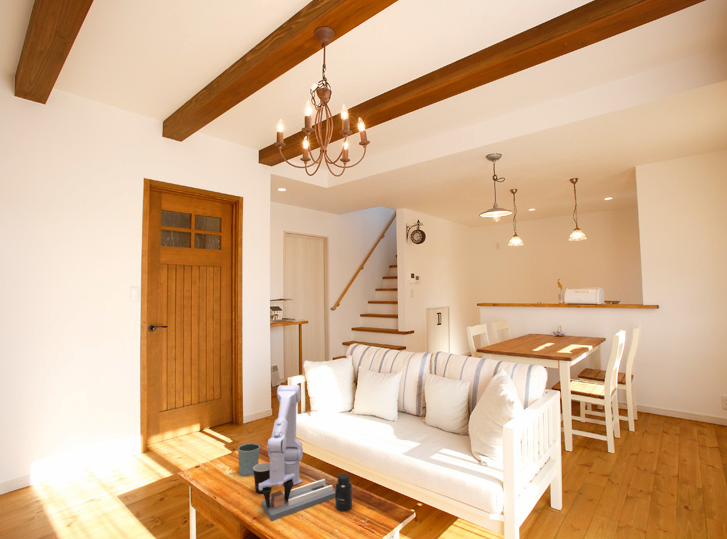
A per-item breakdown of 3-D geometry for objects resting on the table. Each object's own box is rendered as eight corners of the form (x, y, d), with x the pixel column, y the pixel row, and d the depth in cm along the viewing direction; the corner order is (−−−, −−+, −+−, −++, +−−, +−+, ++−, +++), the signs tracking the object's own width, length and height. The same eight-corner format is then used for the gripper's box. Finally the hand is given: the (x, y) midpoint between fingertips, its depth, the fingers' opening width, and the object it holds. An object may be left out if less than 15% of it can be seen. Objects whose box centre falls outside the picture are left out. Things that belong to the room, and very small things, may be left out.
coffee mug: (268, 496, 160) (267, 472, 160) (249, 494, 161) (249, 470, 162) (279, 482, 171) (279, 460, 172) (262, 481, 173) (261, 459, 173)
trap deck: (261, 506, 152) (261, 501, 152) (322, 485, 167) (322, 481, 168) (271, 521, 142) (271, 515, 142) (336, 497, 158) (336, 492, 158)
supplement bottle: (337, 513, 146) (336, 481, 147) (333, 503, 153) (333, 473, 153) (354, 510, 148) (353, 478, 149) (350, 501, 155) (349, 471, 155)
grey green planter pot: (236, 470, 185) (236, 445, 185) (258, 465, 189) (257, 441, 190) (239, 479, 175) (239, 452, 176) (261, 474, 180) (261, 448, 180)
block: (271, 503, 150) (270, 493, 150) (280, 500, 152) (280, 490, 153) (274, 508, 147) (274, 497, 147) (284, 505, 149) (284, 494, 149)
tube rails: (282, 497, 155) (282, 492, 155) (324, 483, 165) (324, 478, 166) (289, 505, 148) (289, 500, 149) (332, 490, 159) (332, 485, 159)
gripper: (262, 476, 143) (262, 514, 142) (297, 466, 151) (298, 501, 150) (256, 470, 149) (256, 505, 148) (291, 460, 157) (291, 494, 156)
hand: (277, 503), depth 150 cm, fingers open, 7 cm apart
